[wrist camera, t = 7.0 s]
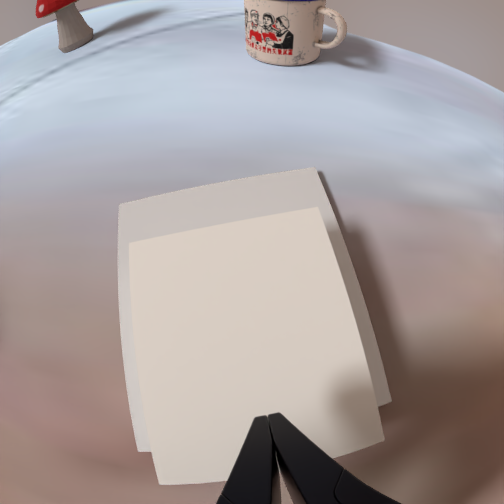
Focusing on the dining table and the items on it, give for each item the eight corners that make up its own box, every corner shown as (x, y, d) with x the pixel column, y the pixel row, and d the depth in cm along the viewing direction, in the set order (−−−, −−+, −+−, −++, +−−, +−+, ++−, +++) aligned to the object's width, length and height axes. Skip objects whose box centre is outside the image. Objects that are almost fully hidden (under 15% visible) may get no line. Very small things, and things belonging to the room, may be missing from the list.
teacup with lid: (228, 53, 30) (220, -34, 19) (275, 32, 33) (276, -43, 22) (316, 87, 26) (328, -20, 16) (356, 61, 29) (371, -23, 19)
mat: (387, 401, 14) (391, 401, 14) (142, 449, 14) (138, 451, 13) (313, 172, 21) (314, 167, 21) (122, 209, 20) (119, 204, 20)
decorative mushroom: (56, 63, 34) (28, -6, 21) (51, 53, 38) (27, -7, 24) (108, 35, 37) (88, -35, 23) (97, 28, 40) (79, -33, 27)
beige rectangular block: (384, 440, 10) (317, 206, 16) (159, 484, 10) (128, 243, 15) (363, 433, 13) (309, 235, 18) (176, 470, 13) (147, 266, 18)
